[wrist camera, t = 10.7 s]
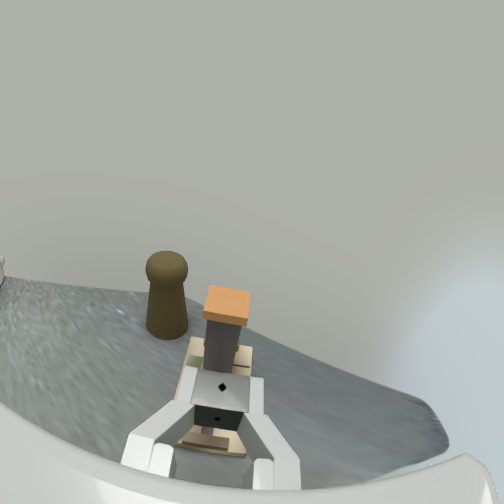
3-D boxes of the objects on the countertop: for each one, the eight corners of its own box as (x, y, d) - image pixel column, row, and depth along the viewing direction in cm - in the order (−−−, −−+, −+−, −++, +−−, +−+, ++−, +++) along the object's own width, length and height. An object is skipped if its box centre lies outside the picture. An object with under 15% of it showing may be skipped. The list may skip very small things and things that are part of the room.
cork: (151, 306, 39) (149, 241, 34) (191, 313, 40) (195, 248, 34) (141, 335, 34) (134, 266, 28) (185, 342, 34) (187, 274, 29)
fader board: (164, 443, 21) (162, 436, 20) (191, 342, 35) (191, 331, 34) (243, 456, 22) (247, 450, 21) (250, 352, 35) (253, 342, 34)
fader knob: (198, 374, 28) (203, 310, 24) (203, 349, 32) (210, 284, 27) (233, 380, 29) (248, 318, 24) (236, 355, 32) (250, 291, 27)
